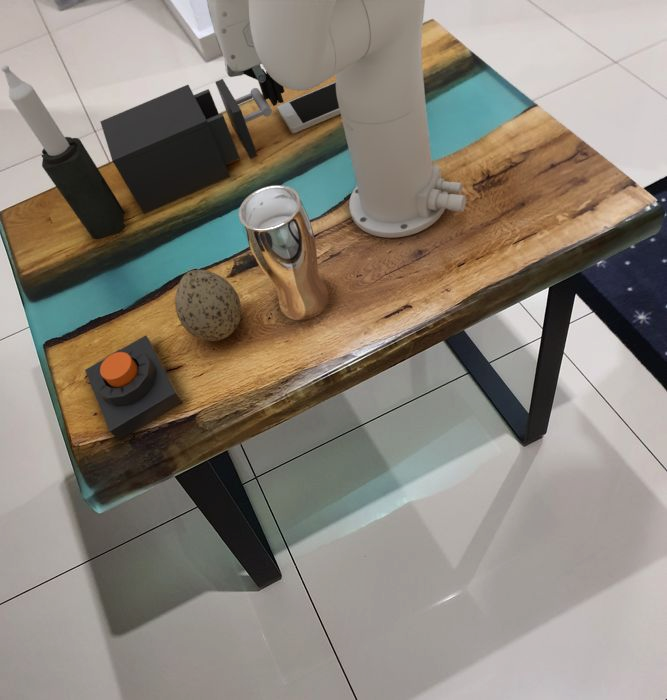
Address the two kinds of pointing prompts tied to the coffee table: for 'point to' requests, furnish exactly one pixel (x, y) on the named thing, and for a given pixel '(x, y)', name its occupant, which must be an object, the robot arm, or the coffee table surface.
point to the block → (135, 391)
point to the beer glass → (285, 249)
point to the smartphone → (310, 108)
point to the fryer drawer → (231, 120)
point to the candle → (68, 164)
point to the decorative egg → (207, 305)
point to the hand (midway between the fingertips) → (275, 99)
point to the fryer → (164, 149)
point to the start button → (119, 369)
